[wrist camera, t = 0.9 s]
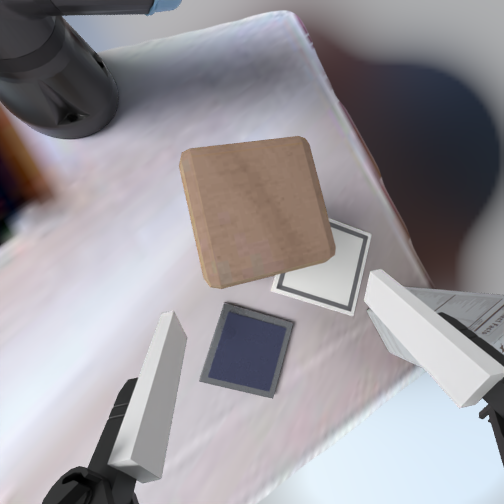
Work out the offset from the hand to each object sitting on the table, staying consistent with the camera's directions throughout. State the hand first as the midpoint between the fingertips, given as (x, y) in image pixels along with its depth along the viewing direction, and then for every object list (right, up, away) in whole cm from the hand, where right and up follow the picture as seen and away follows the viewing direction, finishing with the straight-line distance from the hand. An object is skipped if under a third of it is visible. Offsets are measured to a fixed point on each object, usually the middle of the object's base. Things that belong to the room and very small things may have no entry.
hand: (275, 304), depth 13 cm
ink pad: (-2, -12, +18) cm, 22 cm away
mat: (+12, +2, +22) cm, 25 cm away
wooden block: (-4, +5, +20) cm, 21 cm away
